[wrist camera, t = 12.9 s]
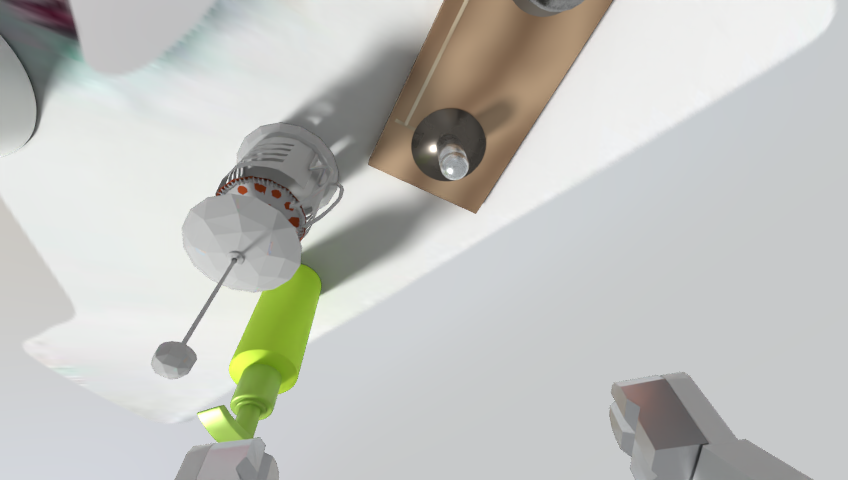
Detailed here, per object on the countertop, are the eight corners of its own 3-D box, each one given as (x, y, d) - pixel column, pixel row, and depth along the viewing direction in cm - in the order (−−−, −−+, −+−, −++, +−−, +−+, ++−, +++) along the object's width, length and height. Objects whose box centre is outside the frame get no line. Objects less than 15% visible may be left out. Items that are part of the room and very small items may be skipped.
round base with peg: (398, 162, 40) (398, 189, 34) (433, 94, 37) (438, 112, 31) (462, 191, 42) (471, 221, 36) (499, 129, 39) (515, 152, 33)
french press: (214, 145, 39) (-7, 334, 18) (325, 98, 38) (225, 244, 16) (271, 229, 44) (150, 455, 23) (371, 190, 43) (341, 396, 21)
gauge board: (368, 160, 41) (368, 165, 40) (517, -157, 29) (521, -163, 28) (474, 208, 44) (476, 214, 43) (644, -60, 33) (652, -62, 32)
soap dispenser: (301, 248, 46) (242, 405, 29) (330, 294, 49) (292, 458, 32) (254, 265, 46) (168, 426, 29) (285, 309, 50) (225, 477, 33)
